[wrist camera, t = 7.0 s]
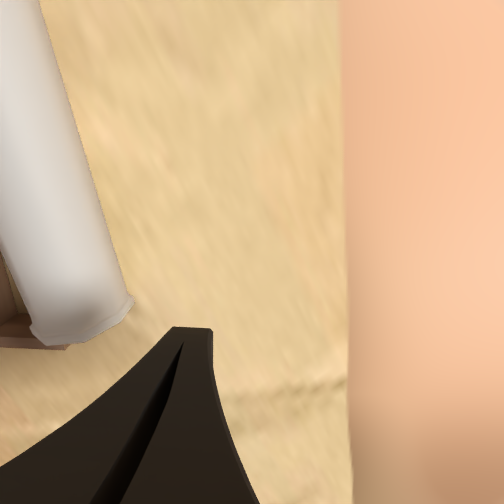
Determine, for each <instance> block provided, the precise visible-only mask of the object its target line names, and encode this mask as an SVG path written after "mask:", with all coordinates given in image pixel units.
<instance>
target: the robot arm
mask: <svg viewBox="0 0 504 504" xmlns="http://www.w3.org/2000/svg"><path fill="white" fill-rule="evenodd" d="M0 504H260V503H259V501H258V499H257V497H256V495H255V493H254V490H253V488H252V486H251V484H250V482H249V479H248V477H247V474H246V472H245V470H244V467H243V465H242V462H241V460H240V458H239V455H238V453H237V451H236V448H235V445H234V442H233V440H232V437H231V434H230V431H229V428H228V425H227V422H226V419H225V416H224V413H223V409H222V406H221V402H220V398H219V394H218V390H217V386H216V381H215V376H214V370H213V331H212V330H211V329H210V328H190V327H172V328H171V329H170V330H169V331H168V332H167V333H166V334H165V335H164V336H163V337H162V338H161V339H160V340H159V341H158V342H157V344H156V345H155V346H154V347H153V348H152V349H151V350H150V351H149V352H148V353H147V354H146V355H145V356H144V357H143V358H142V359H141V360H140V361H139V362H138V363H137V364H136V365H135V366H134V367H132V368H131V369H130V370H129V371H128V372H127V373H126V374H125V375H124V376H123V377H122V378H121V379H119V380H118V381H117V382H116V383H115V384H114V385H113V386H112V387H110V388H109V389H108V390H107V391H106V392H105V393H104V394H102V395H101V396H100V397H99V398H98V399H96V400H95V401H94V402H93V403H92V404H90V405H89V406H88V407H87V408H85V409H84V410H83V411H81V412H80V413H79V414H77V415H76V416H75V417H74V418H72V419H71V420H70V421H68V422H67V423H66V424H64V425H63V426H61V427H60V428H58V429H57V430H55V431H54V432H53V433H51V434H50V435H48V436H47V437H45V438H44V439H42V440H41V441H39V442H38V443H36V444H35V445H33V446H32V447H31V448H29V449H28V450H26V451H25V452H23V453H22V454H20V455H19V456H17V457H15V458H14V459H12V460H11V461H9V462H7V463H6V464H4V465H3V466H1V467H0Z"/></svg>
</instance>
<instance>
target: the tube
mask: <svg viewBox="0 0 504 504" xmlns="http://www.w3.org/2000/svg"><path fill="white" fill-rule="evenodd" d="M0 251H1V253H2V255H3V257H4V260H5V262H6V264H7V266H8V268H9V271H10V273H11V275H12V277H13V279H14V282H15V284H16V286H17V288H18V291H19V293H20V295H21V297H22V299H23V302H24V304H25V306H26V308H27V310H28V313H29V315H30V317H31V320H32V324H31V326H29V327H30V330H31V332H32V334H33V335H34V336H35V337H37V338H38V339H39V340H40V341H41V342H42V343H43V344H44V345H46V346H51V345H62V344H73V343H84V342H86V341H88V340H90V339H91V338H93V337H95V336H97V335H99V334H100V333H102V332H104V331H106V330H107V329H109V328H111V327H113V326H115V325H116V324H118V323H120V322H121V321H122V319H123V318H124V317H125V315H126V314H127V313H128V311H129V310H130V309H131V307H132V306H133V305H134V303H135V300H134V297H133V296H132V295H130V294H128V291H127V289H126V286H125V282H124V279H123V276H122V272H121V269H120V266H119V263H118V259H117V256H116V253H115V250H114V246H113V243H112V240H111V236H110V233H109V230H108V227H107V223H106V220H105V217H104V214H103V210H102V207H101V204H100V200H99V197H98V194H97V191H96V187H95V184H94V181H93V177H92V174H91V171H90V168H89V164H88V161H87V158H86V155H85V151H84V148H83V145H82V141H81V138H80V135H79V132H78V128H77V125H76V122H75V119H74V115H73V112H72V109H71V105H70V102H69V99H68V96H67V92H66V89H65V86H64V83H63V79H62V76H61V73H60V69H59V66H58V63H57V60H56V56H55V53H54V50H53V47H52V43H51V40H50V37H49V33H48V30H47V27H46V24H45V20H44V17H43V14H42V11H41V7H40V4H39V1H38V0H0Z"/></svg>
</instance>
